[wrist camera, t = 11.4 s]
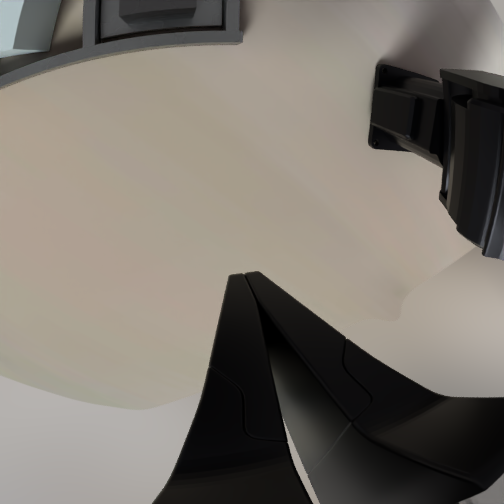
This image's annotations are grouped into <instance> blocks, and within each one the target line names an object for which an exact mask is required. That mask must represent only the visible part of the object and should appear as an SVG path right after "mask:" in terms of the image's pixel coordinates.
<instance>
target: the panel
mask: <svg viewBox="0 0 504 504" xmlns="http://www.w3.org/2000/svg"><path fill="white" fill-rule="evenodd" d="M60 4H61V0H0V58H4V57H10V56H16V55H22V54H29V53H37V52H47V51H50V45H51V40H52V36H53V31H54V27H55V23H56V19H57V15H58V11H59V7H60Z"/></svg>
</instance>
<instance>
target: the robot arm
mask: <svg viewBox="0 0 504 504" xmlns="http://www.w3.org/2000/svg"><path fill="white" fill-rule="evenodd" d="M383 68H384V73H383V72H382V69H383ZM440 77H441V78H442V83H443V84H442V83H439V82H438V81H437V80H435V79H432V78H429V77H426V76H423V75H420V74H417V73H414V72H411V71H407V70H404V69H400V68H397V67H393V66H389V65H386V64H379V65H378V66H377V67H376V76H375V87H374V94H373V103H372V113H371V124H370V132H369V139H368V144H369V146H370V147H372V148H374V149H382V150H395V151H406V152H413V153H415V154H417V155H419V156H421V157H423V158H425V159H426V160H428V161H430V162H432V163H434V164H436V165H437V166H439V167H441V168H443V172H442V185H441V190H440V192H439V200H440V201H441V202H442V204H443V205H444V206H445V208H446V209H447V211H448V214H449V215H450V216H451V218H452V219H453V221H454V222H455V223H456V224H457V227H456V229H457V231H458V232H459V233H460V234H461V235H462V236H463V237H465V238H466V239H467V240H469V241H470V242H472V243H473V244H475V245H476V246H478V247H480V248H482V249H483V250H482V255H483V256H485V257H491V258H497V259H501V260H504V76H501V75H497V74H492V73H488V72H484V71H476V70H459V69H440ZM375 140H376V143H375V144H374V141H375ZM282 416H283V418H282ZM283 419H284V421H285V424H286V426H287V428H288V431H289V433H290V436H291V438H292V440H293V443H294V445H295V447H296V450H297V452H298V454H299V457H300V459H301V461H302V464H303V466H304V468H305V471H306V473H307V474H308V478H309V480H310V482H311V485H312V487H313V489H314V491H315V494H316V496H317V498H318V500H319V503H320V504H504V397H488V398H485V397H484V398H483V397H482V398H481V397H480V398H479V397H476V398H475V397H450V396H444V395H440V394H438V393H435V392H433V391H431V390H429V389H427V388H425V387H423V386H421V385H420V384H418V383H416V382H414V381H413V380H411V379H409V378H407V377H406V376H404V375H402V374H400V373H399V372H397V371H395V370H394V369H392V368H390V367H389V366H387V365H385V364H384V363H382V362H381V361H379V360H377V359H376V358H374V357H373V356H371V355H370V354H369V353H367V352H366V351H364V350H363V349H361V348H360V347H359V346H357V345H356V344H355V343H353V342H352V341H351V340H349V339H346V337H345V336H344V335H342V334H341V333H340V332H338V331H337V330H336V329H334V328H333V327H332V326H330V325H329V324H328V323H326V322H325V321H324V320H322V319H321V318H320V317H318V316H317V315H316V314H314V313H313V312H312V311H311V310H309V309H308V308H307V307H305V306H304V305H303V304H301V303H300V302H299V301H297V300H296V299H295V298H293V297H292V296H291V295H289V294H288V293H287V292H285V291H284V290H283V289H282V288H280V287H279V286H278V285H276V284H275V283H274V282H272V281H271V280H270V279H268V278H267V277H266V276H265V275H263V274H262V273H261V272H259V271H255V272H247V273H245V274H242V273H240V274H232V275H229V277H228V281H227V286H226V290H225V294H224V299H223V303H222V308H221V312H220V316H219V321H218V325H217V330H216V334H215V339H214V343H213V348H212V353H211V357H210V362H209V368H208V370H207V375H206V379H205V383H204V387H203V391H202V395H201V399H200V402H199V405H198V408H197V411H196V414H195V417H194V419H193V422H192V425H191V427H190V430H189V432H188V435H187V438H186V440H185V442H184V445H183V448H182V450H181V453H180V455H179V458H178V460H177V463H176V465H175V467H174V470H173V472H172V474H171V476H170V478H169V480H168V481H167V483H166V485H165V487H164V488H163V489H162V491H161V492H160V493H159V495H158V496H157V497H156V499H155V500H154V501H153V503H152V504H313V503H312V501H311V499H310V497H309V495H308V493H307V491H306V489H305V487H304V485H303V483H302V481H301V479H300V476H299V474H298V472H297V470H296V468H295V466H294V463H293V459H292V456H291V453H290V449H289V445H288V443H287V442H288V440H287V435H286V431H285V427H284V422H283Z"/></svg>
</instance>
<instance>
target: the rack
mask: <svg viewBox="0 0 504 504" xmlns="http://www.w3.org/2000/svg"><path fill="white" fill-rule="evenodd" d="M239 14H240V0H84V6H83V48H80V49H76V50H73V51H69V52H65V53H62V54H59V55H55V56H52V57H49V58H46V59H43V60H40V61H37V62H34V63H32V64H29V65H26V66H24V67H21V68H18V69H16V70H13V71H11V72H9V73H6V74H4V75H2V76H0V89H3V88H5V87H8V86H10V85H13V84H15V83H18V82H20V81H23V80H26V79H28V78H31V77H34V76H37V75H40V74H43V73H46V72H49V71H52V70H56V69H59V68H63V67H66V66H70V65H73V64H77V63H81V62H85V61H90V60H94V59H99V58H103V57H108V56H113V55H119V54H124V53H131V52H137V51H144V50H152V49H160V48H170V47H183V46H200V45H238V44H240V43H243V31H239ZM221 25H222V31H193V32H177V33H166V34H157V35H148V36H141V37H134V38H128V39H122V40H116V41H111V42H106V43H102V39H106V38H111V37H116V36H122V35H128V34H134V33H141V32H148V31H156V30H166V29H177V28H193V27H220V26H221Z"/></svg>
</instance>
